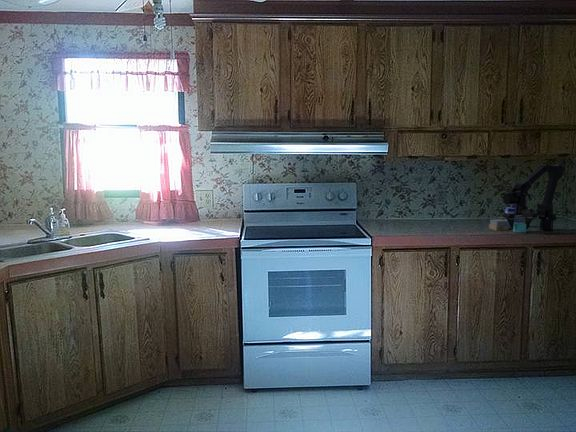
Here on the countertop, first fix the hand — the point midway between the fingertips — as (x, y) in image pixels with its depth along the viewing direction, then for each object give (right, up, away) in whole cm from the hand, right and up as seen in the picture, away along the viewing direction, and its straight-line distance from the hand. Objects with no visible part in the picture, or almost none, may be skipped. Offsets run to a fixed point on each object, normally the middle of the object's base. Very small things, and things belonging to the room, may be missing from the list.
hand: (519, 229), depth 294 cm
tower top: (-8, +3, +10) cm, 13 cm away
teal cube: (0, -1, 0) cm, 1 cm away
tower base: (-8, -1, +10) cm, 13 cm away
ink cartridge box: (+5, +1, +18) cm, 18 cm away
